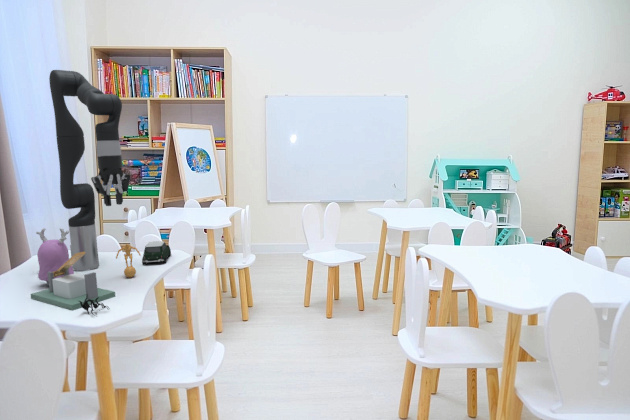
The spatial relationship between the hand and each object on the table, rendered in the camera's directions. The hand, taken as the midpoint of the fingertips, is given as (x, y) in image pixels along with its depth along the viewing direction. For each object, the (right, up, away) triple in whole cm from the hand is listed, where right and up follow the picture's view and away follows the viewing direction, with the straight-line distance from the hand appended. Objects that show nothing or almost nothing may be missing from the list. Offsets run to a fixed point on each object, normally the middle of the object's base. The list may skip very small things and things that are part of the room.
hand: (113, 204), depth 160 cm
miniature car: (+3, -23, +35) cm, 42 cm away
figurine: (+2, -26, +11) cm, 28 cm away
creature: (+6, -31, -26) cm, 41 cm away
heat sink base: (-8, -29, -12) cm, 33 cm away
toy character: (-21, -28, +3) cm, 35 cm away
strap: (-8, -20, -13) cm, 25 cm away
